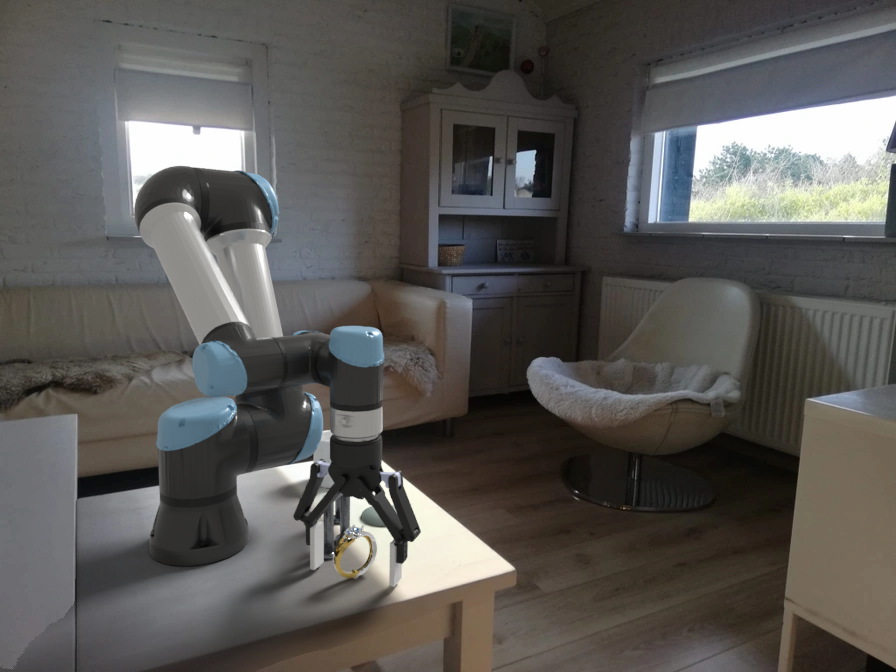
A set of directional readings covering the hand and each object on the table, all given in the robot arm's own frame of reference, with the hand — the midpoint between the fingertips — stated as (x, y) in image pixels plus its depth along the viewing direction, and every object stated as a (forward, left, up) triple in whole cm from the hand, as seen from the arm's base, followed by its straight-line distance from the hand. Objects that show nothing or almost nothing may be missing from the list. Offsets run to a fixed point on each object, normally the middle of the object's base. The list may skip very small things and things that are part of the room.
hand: (355, 573), depth 97 cm
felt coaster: (-5, +21, -1) cm, 22 cm away
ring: (0, 0, -1) cm, 1 cm away
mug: (-20, +32, -1) cm, 38 cm away
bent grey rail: (-9, +11, -1) cm, 14 cm away
